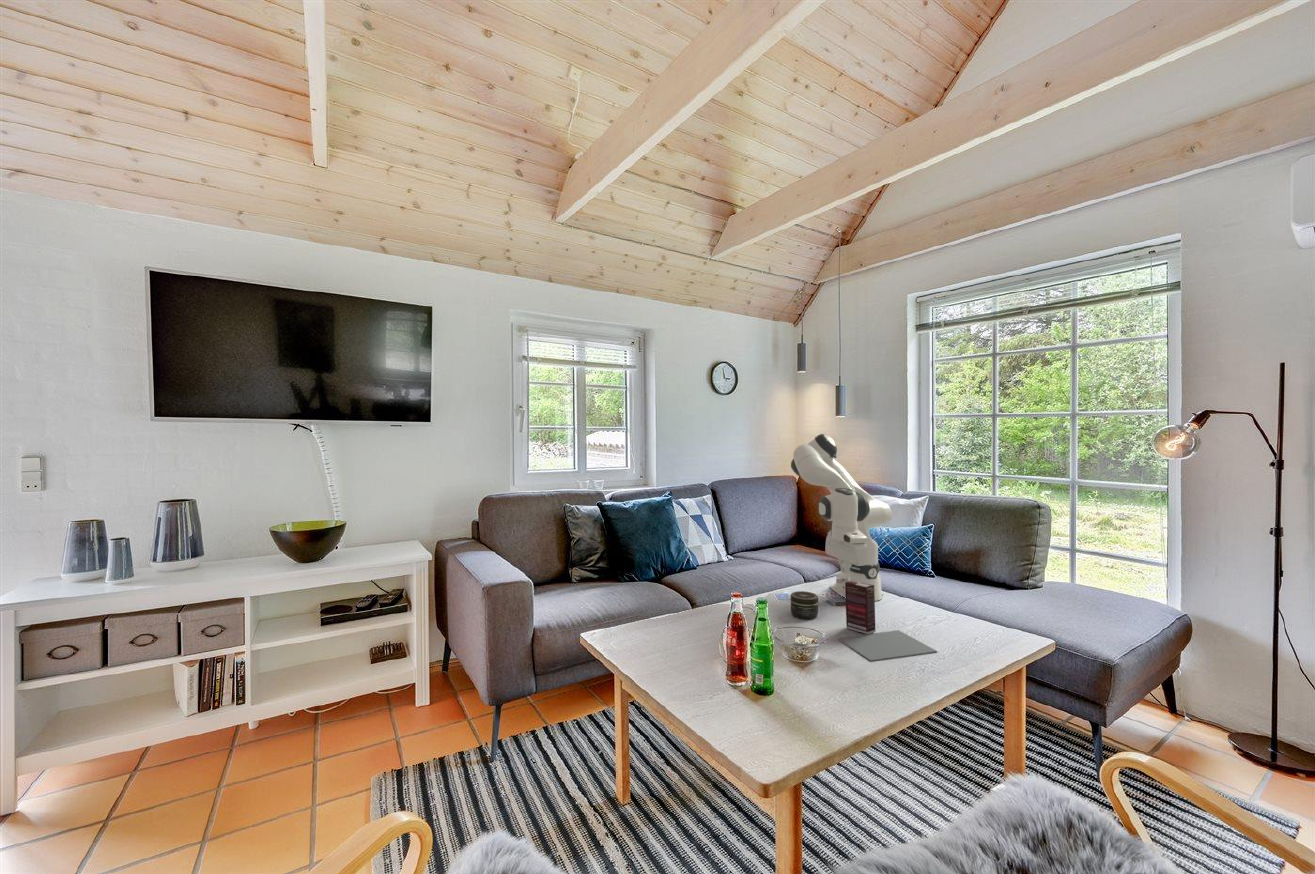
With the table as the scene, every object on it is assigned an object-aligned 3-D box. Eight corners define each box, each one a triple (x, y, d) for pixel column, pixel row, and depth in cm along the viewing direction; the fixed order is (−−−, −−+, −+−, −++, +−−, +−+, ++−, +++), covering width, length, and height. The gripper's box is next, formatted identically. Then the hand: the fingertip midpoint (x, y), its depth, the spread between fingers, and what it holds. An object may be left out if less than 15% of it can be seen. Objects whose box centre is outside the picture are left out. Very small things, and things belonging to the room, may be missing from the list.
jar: (821, 620, 189) (821, 599, 188) (794, 620, 189) (794, 599, 189) (813, 610, 199) (813, 590, 198) (787, 610, 199) (787, 590, 199)
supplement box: (876, 631, 177) (875, 584, 177) (868, 635, 174) (866, 587, 175) (853, 625, 184) (852, 579, 184) (845, 628, 181) (844, 582, 182)
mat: (836, 638, 172) (837, 637, 172) (898, 631, 178) (898, 630, 178) (870, 661, 156) (870, 660, 156) (937, 652, 162) (937, 650, 162)
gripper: (820, 529, 196) (821, 565, 197) (854, 539, 177) (854, 580, 177) (835, 528, 198) (835, 564, 198) (870, 538, 178) (870, 579, 178)
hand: (845, 572), depth 187 cm, fingers closed
